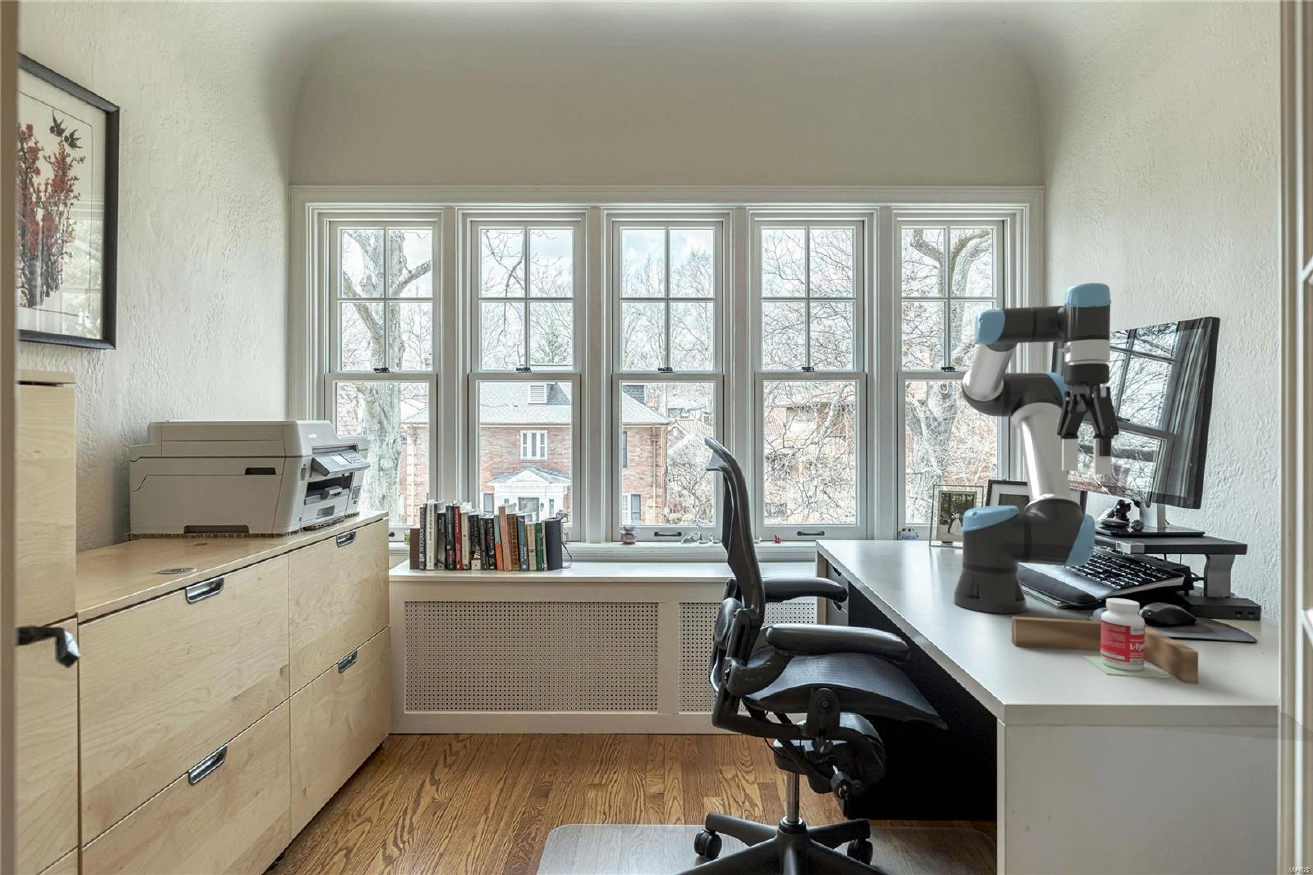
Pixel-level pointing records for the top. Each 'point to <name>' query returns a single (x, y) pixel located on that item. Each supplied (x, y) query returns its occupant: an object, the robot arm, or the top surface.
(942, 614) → the top surface
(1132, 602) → the pill bottle
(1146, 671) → the pad
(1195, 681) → the corner barrier
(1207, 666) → the top surface
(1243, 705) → the top surface
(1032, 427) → the robot arm
